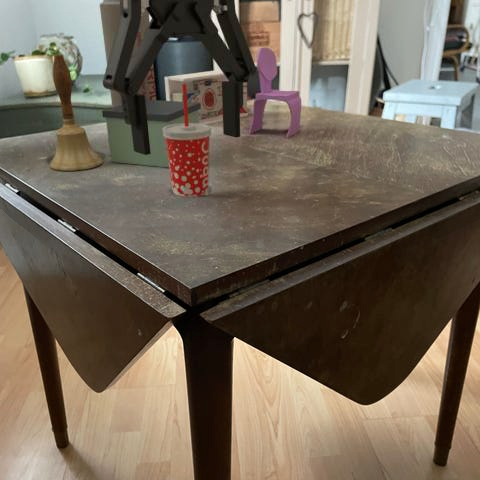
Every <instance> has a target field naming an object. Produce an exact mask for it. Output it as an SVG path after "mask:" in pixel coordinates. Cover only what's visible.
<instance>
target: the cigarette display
mask: <svg viewBox="0 0 480 480" xmlns="http://www.w3.org/2000/svg"><path fill="white" fill-rule="evenodd" d="M222 82H229V80H228V79H227V78H226V76H225V75H224V74H223V72H222V71H221V69H216V70H209V71H201V72H193V73H186V74H178V75H169V76H164V89H165V90H164V91H165V101H179V102H183V87H182V84H186V88H187V102H198V103H201V109H199V110H198V112H199V124H205V125H211V124H216V123H220V122H223V108H222ZM248 115H249V113H248V82H246V83H244V82H243V107H242V108H240V118H244V117H248Z"/></svg>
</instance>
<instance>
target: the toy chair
mask: <svg viewBox="0 0 480 480" xmlns="http://www.w3.org/2000/svg"><path fill="white" fill-rule="evenodd" d="M277 63H278V62H277V56H276V54H275V52H274V51H273V50H272V49H271V48H269V47H265V46H264V47H260V48H258V50H257V54H256V70H257V71H258V77H259V85H260V92H258V93H255V99H254V100H253V103H252V104H253V106H252V107H253V109H252V111H253V112H252V119H251V123H250V127H249V130H248V132H247V135H252V134H253V133H256V132H258V131H260V130H262V129H263V127H264V126H263V124H264V123H263V122H264V113H265V108H266V105H267V101H269V100H271V101H278V102H284V103H286V104H287V106H288V109H289V113H290V123H289V126H288V130H287V133H286V136H285V138H286V139H288V138H290V137H292V136H293V135H295V134H297V133H299V132H300V126H301V117H302V98H301V96H300V92H301V91H300V90H279V89H272V81H273V80H274V79H275V78H276V76H277V75H278V64H277Z"/></svg>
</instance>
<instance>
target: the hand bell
mask: <svg viewBox="0 0 480 480" xmlns="http://www.w3.org/2000/svg"><path fill="white" fill-rule="evenodd" d="M52 79H53V85H54V88H55V90H56V93H57V95H58V97H59V101H60V105H61V106H60V107H61V113H62V121H63V125H62V126H61V127H60V128H58V129H57V130H56V133H55V134H56V135H55V136H56V150H55V154H54V156H53V158H52V160H51V161H50V163H49V167H50V169H52V170H55V171H60V172H61V171H62V172H74V171H83V170H89V169H94V168H96V167H98V166H99V167H100V166H101V165H102V164H103V159H102V158H101V157H100V156H99V155H98V154H97V153H96V152H95V150H94V149H93V148H92V146H91V143H90V141H89V138H88V135H87V132H86V129H85V128H84V127H81V126H79V125H77V123H76V121H75V120H76V119H75V114H74V110H73V105H72V91H73V84H72V75H71V72H70V68H69V67H68V64H67V62H66V60H65V58H64V55H63V54H54V55H53V65H52Z"/></svg>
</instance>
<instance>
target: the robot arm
mask: <svg viewBox="0 0 480 480" xmlns="http://www.w3.org/2000/svg"><path fill="white" fill-rule="evenodd" d="M145 9H146V10H147V12H148V13H149V17H150V23H149V25H148V27H147V28H146V30H145V32H144V35H145V36H144V38H143V40H142V42H141V44H140V46H139V48H138V49H137V51H136V53H135V55H134V57H133V59H132V61H131V62H130V59H131V55H132V52H133V48H134V44H135V41H136V37H137V34H138V30H139V27H140V22H141V17H142V16H143V15H144V13H145ZM212 12H214V13H215V16H216V19H217V22H218V25H219V28H220V30H221V33H222V35H223V37H224V40H225V42H224V40H223V38H222V36H221V35H220V34H219V28H218V27H217V26H216V24H215V23H214V21H213V20H212V18H211V16H210V15H211V13H212ZM184 37H185V38H196V39H198V40H199V41H200V42H201V44H202V46H204V48H205V49H206V51H207V52H208V54H209V55H210V57H211V58H212V60H213V61H214V62H215V64H216V65H217V66H218V68H219V70H221V71H222V72H223V74H224V75H225V76H226V78H227V79H228V80H229V82H222V108H223V121H222V132H223V133H222V134H223V135H224V136H228V137H232V138H241V117H240V108H242V107H243V82H244V83H246V82H247V83H248V82H249V81H250V76H255V74H256V73H257V65H256V63H255V61H254V59H253V56H252V52H251V50H250V48H249V45H248V42H247V39H246V37H245V34H244V31H243V28H242V26H241V23H240V20H239V17H238V15H237V10H236V1H235V0H120V20H119V23H118V27H117V31H116V34H115V38H114V42H113V45H112V49H111V53H110V56H109V60H108V64H107V63H106V68H105V71H104V76H103V79H102V87H103V88H104V89H106V90H109V91H110V90H113V91H116V92H118V93H119V94H120V96H121V100H122V108H123V116H124V121H125V123H126V124H128V125H131V130H132V139H133V147H134V151H135V152H138V153H141V154H143V155H149V154H151V151H150V142H149V132H148V122H147V112H146V103H145V95H141V94H137V92H138V91H139V89H140V87H141V85H142V83H143V81H144V80H145V78H146V76H147V74H148V72H149V70H150V68H151V67H152V65H153V66H154V63H155V61H156V59H157V57H158V56H159V54H160V52H161V50H162V48H163V47H164V45H165V44H166V43H167V42H169V40H170V39H182V38H184ZM129 62H130V64H129Z"/></svg>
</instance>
